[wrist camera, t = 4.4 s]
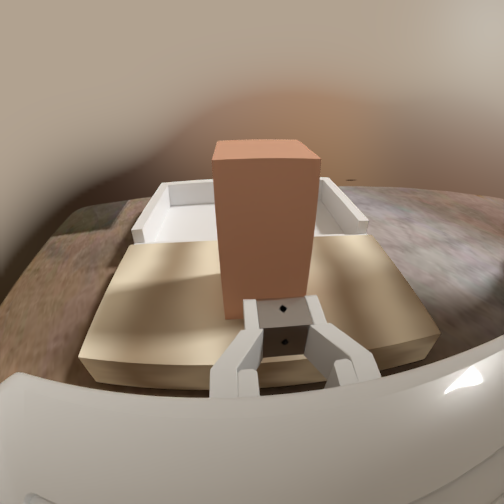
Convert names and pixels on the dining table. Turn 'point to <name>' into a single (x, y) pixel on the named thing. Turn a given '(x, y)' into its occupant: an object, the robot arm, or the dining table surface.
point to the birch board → (224, 331)
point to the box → (204, 218)
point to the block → (264, 218)
